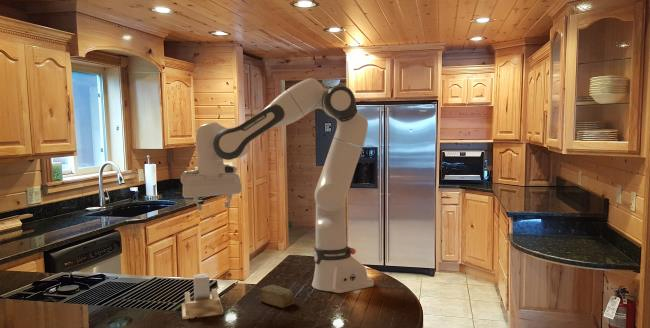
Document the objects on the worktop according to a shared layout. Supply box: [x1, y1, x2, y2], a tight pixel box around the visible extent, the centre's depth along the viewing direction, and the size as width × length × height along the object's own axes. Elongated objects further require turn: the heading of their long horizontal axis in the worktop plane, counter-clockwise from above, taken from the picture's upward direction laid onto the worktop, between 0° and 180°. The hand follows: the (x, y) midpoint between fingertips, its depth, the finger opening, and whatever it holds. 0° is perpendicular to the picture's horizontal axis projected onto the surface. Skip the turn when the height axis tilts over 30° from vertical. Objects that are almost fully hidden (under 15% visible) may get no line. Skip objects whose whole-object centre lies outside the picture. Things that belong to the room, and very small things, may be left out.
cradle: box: [181, 288, 224, 320], centre depth 141 cm, size 12×12×4 cm
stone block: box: [259, 284, 296, 308], centre depth 146 cm, size 6×12×5 cm, turn 52°
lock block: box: [193, 272, 211, 301], centre depth 141 cm, size 4×5×10 cm
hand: (213, 208), depth 158 cm, fingers open, 8 cm apart
